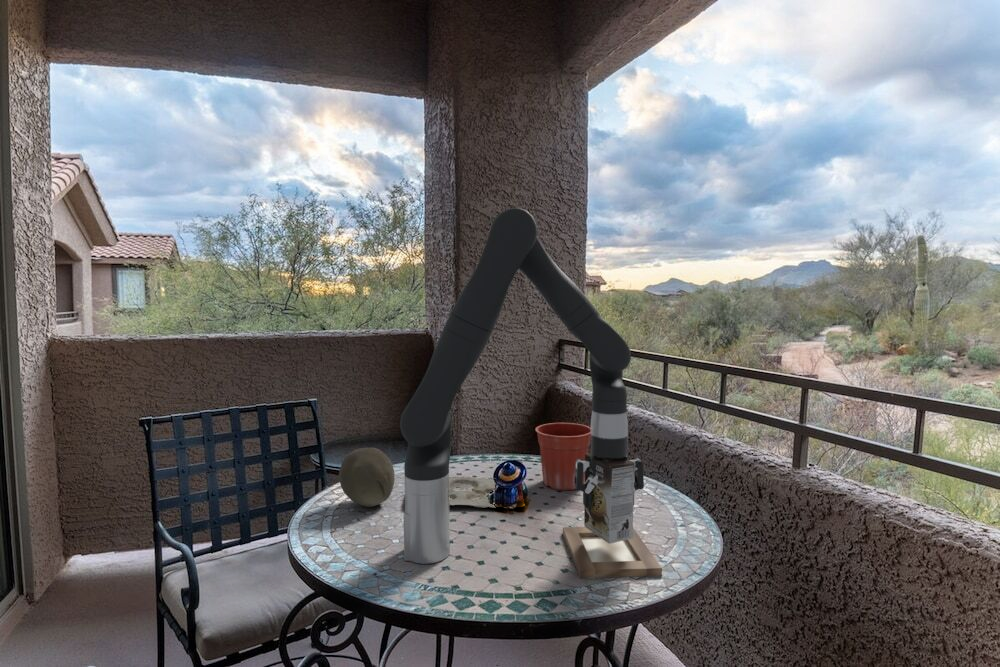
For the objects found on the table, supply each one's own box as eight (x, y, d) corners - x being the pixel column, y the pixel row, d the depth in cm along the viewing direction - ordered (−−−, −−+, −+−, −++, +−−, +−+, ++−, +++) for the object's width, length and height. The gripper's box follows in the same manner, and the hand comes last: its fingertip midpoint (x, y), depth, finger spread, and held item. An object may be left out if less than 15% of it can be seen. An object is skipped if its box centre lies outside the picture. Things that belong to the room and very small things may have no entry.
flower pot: (523, 481, 152) (523, 427, 151) (563, 470, 162) (564, 419, 161) (563, 498, 139) (563, 439, 138) (604, 485, 149) (604, 430, 148)
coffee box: (582, 526, 111) (583, 453, 110) (607, 521, 114) (608, 449, 113) (608, 544, 103) (609, 465, 102) (634, 538, 106) (635, 461, 105)
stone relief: (526, 513, 131) (523, 483, 151) (526, 502, 131) (523, 474, 151) (398, 513, 131) (412, 483, 151) (398, 502, 131) (412, 474, 151)
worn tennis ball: (397, 493, 143) (396, 440, 142) (392, 514, 129) (391, 455, 128) (344, 496, 141) (343, 442, 140) (334, 517, 127) (332, 458, 126)
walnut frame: (579, 578, 99) (580, 570, 99) (562, 533, 118) (562, 527, 118) (661, 575, 100) (661, 568, 100) (631, 531, 119) (631, 525, 119)
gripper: (578, 437, 103) (578, 517, 104) (649, 436, 104) (648, 515, 105) (571, 428, 111) (571, 502, 112) (637, 427, 111) (636, 501, 112)
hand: (608, 508), depth 108 cm, fingers closed on coffee box, 8 cm apart
